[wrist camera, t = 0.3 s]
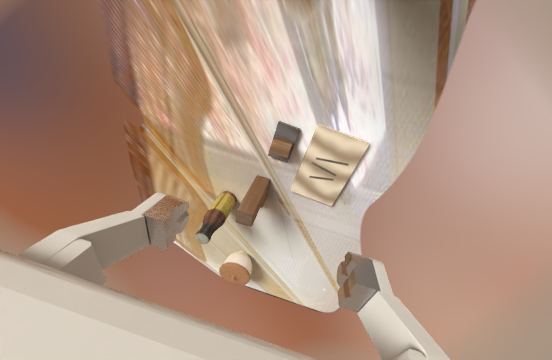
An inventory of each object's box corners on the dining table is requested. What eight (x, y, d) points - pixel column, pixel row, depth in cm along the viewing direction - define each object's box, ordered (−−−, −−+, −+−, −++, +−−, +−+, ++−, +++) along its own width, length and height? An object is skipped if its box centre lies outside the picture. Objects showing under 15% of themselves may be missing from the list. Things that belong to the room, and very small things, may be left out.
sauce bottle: (221, 203, 72) (191, 244, 55) (219, 189, 69) (186, 228, 52) (238, 205, 71) (212, 249, 54) (237, 191, 68) (209, 232, 51)
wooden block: (265, 200, 67) (249, 239, 52) (253, 196, 67) (233, 234, 52) (270, 178, 62) (254, 214, 47) (257, 174, 63) (236, 209, 47)
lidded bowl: (222, 252, 86) (210, 274, 77) (242, 242, 81) (231, 265, 71) (241, 269, 90) (232, 292, 80) (261, 261, 84) (254, 285, 75)
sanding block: (279, 120, 53) (274, 127, 47) (300, 128, 53) (297, 136, 47) (269, 152, 58) (263, 162, 52) (288, 159, 58) (284, 170, 52)
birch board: (318, 123, 51) (318, 124, 50) (368, 141, 51) (369, 143, 50) (290, 188, 63) (290, 190, 61) (331, 203, 63) (331, 206, 61)
